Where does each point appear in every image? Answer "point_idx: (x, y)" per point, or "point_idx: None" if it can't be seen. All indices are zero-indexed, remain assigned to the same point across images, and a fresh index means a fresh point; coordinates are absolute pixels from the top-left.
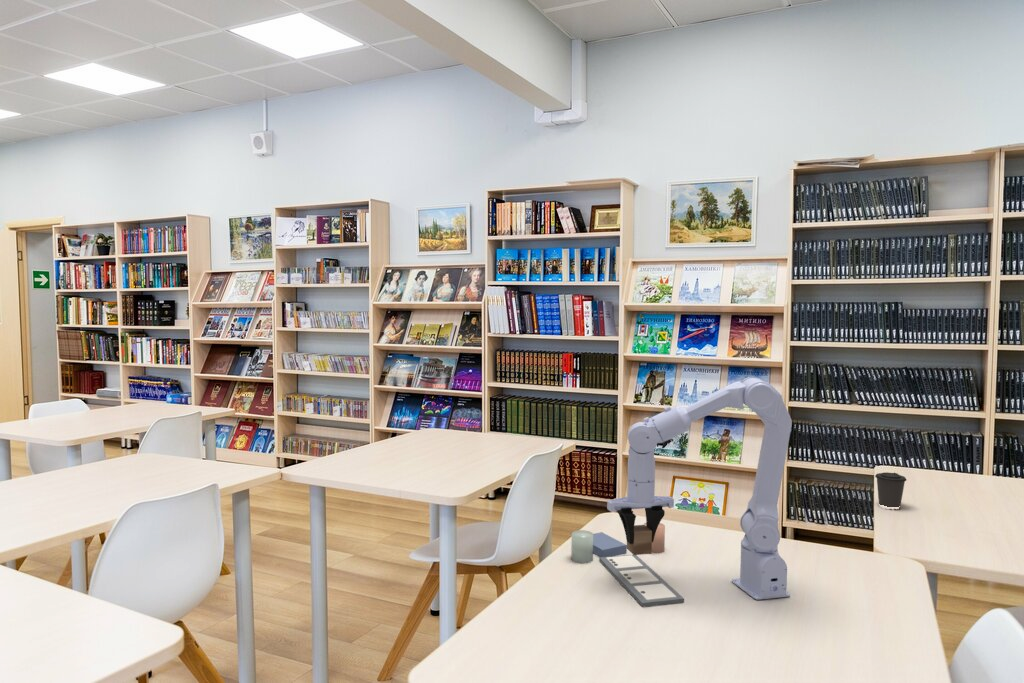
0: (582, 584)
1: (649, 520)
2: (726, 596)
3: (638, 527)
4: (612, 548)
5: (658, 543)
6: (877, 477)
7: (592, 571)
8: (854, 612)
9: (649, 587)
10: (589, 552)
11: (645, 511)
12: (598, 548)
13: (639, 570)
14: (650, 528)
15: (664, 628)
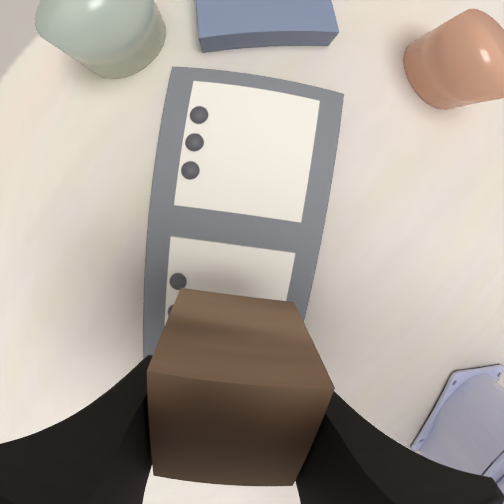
0: (34, 255)
1: (329, 501)
2: (381, 430)
3: (235, 432)
4: (257, 32)
5: (456, 101)
6: None
7: (98, 160)
8: None
9: None
10: (116, 62)
11: (384, 501)
12: (197, 13)
13: (257, 260)
14: (306, 471)
15: (160, 486)
